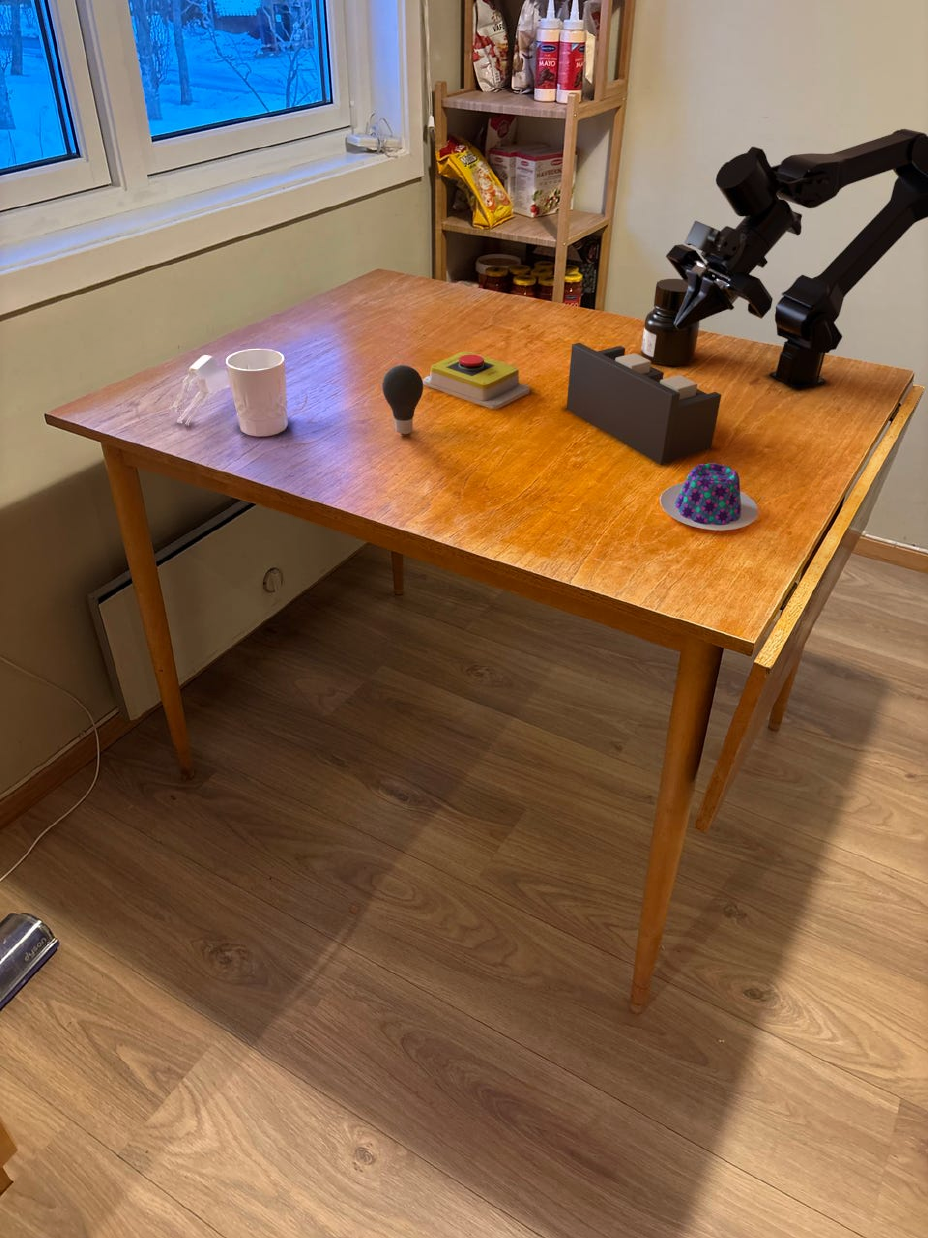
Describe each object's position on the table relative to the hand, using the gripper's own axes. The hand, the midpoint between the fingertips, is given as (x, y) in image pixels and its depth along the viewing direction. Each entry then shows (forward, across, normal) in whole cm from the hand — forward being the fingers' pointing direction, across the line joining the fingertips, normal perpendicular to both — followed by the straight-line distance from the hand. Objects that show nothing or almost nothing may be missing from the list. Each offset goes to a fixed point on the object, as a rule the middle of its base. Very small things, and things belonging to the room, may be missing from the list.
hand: (676, 327), depth 132 cm
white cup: (+49, -16, -32) cm, 61 cm away
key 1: (+9, 0, -1) cm, 9 cm away
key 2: (+8, +9, 0) cm, 12 cm away
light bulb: (+37, -6, -20) cm, 42 cm away
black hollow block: (+14, +5, +3) cm, 15 cm away
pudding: (+18, +28, -1) cm, 33 cm away
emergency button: (+25, -17, -8) cm, 32 cm away
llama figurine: (+52, -27, -35) cm, 68 cm away
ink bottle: (+1, -16, +17) cm, 23 cm away
